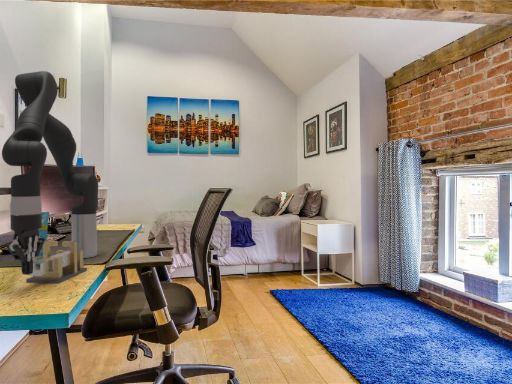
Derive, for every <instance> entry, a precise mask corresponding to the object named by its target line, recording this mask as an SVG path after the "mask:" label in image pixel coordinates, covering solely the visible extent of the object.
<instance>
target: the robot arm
mask: <svg viewBox="0 0 512 384" xmlns="http://www.w3.org/2000/svg"><path fill="white" fill-rule="evenodd" d="M14 83H15V88H16V90H17V92H18V94H19V96H20V98H21V100H22V102H23V104H24V105H25V106H26V107H25V108H24V109H23V110H22V111H21V112H20V114H19V116H18V118H17V121H16V126H15V129H14V131H13V132H12V133H11V135H10V136H9V137H8V138H7V139H6V141H5V142H4V143H3V146H2V150H1V158H2V160H3V161H4V163H6V165H9V166H11V167H31V168H30V170H29V171H28V172H26V173H23V174H22V173H21V174H17V175H14V176H12V177H11V178H10V201H9V202H10V204H9V210H10V211H9V212H10V216H9V217H10V219H9V220H10V222H9V223H10V230H11V231H13V232H14V233H13V236H12V237H13V238H12V239H13V241H12V242H11V244H10V243H8V244H7V245H6V249H7V250H8V252H9V253H10V254H11V256H12V258H13V259H14V260H15V261H20V262H21V274H22V275H27V276H29V274H31V273H33V260H34V259H35V257H36V256H38V255H39V253H40V251H41V248H42V246H43V244H44V241H45V238H41V237H40V236H39V231H38V229H41V228H42V212H43V210H42V209H43V206H42V199H41V180H42V179H41V178H42V174H43V170H44V166H45V163H46V161H47V157H48V150H49V153H50V154H51V155H52V157H53V160H54V162H55V164H56V166H57V168H58V170H59V173H60V176H61V178H62V181H63V184H64V187H65V190H66V191H67V193H68V194H69V196H71V197H75V198H76V197H77V198H78V197H79V198H83V200H82V202H80V203H79V204H76V205H73V206H72V207H71V209H70V211H71V212H70V213H71V217H70V218H71V224H70V225H71V241H77V251H78V250H83V259H86V258H87V259H88V258H94V257H97V255H98V229H97V225H98V224H97V223H98V222H97V209H98V200H99V179H98V178H97V176H96V175H95V174H93V173H77V172H76V170H75V168H74V167H75V166H74V164H73V163H74V159H75V156H76V152H77V142H76V140H75V137H74V135H73V134H72V132H71V129H70V128H69V127H68V126H67V125H66V124H65V123H64V122H62V121H61V120H59V119H58V118H56V117H54V116H53V115H52V114H51V113H50V112H51V110H52V108H53V106H54V104H55V101H56V99H57V96H58V92H59V91H58V89H59V88H58V85H57V82H56V79H55V77H54V75H53V74H52V73H51V72H50V71H47V70H46V71H44V70H41V71H33V72H26V73H19V74H17V75H16V76H15V78H14ZM42 140H43V141H44V142H45V144H46V145H45V144H44V143H43V142H42ZM46 146H47V147H46ZM47 149H48V150H47ZM35 251H36V252H35Z"/></svg>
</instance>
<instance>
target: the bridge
mask: <svg viewBox="0 0 512 384" xmlns="http://www.w3.org/2000/svg"><path fill="white" fill-rule="evenodd" d="M61 244H62V245H61V246H62V248H63V247H64V248H65V247H66V248H67V247H68V248H69V251H70V273H76V272H77V241H72V240H64V241H62V243H61ZM58 245H59V241H58V240H47V241H44V244H43V259H44V258H47V257H50V256H51V247H58Z"/></svg>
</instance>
